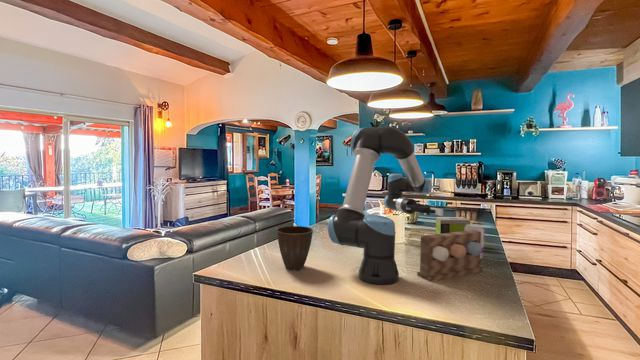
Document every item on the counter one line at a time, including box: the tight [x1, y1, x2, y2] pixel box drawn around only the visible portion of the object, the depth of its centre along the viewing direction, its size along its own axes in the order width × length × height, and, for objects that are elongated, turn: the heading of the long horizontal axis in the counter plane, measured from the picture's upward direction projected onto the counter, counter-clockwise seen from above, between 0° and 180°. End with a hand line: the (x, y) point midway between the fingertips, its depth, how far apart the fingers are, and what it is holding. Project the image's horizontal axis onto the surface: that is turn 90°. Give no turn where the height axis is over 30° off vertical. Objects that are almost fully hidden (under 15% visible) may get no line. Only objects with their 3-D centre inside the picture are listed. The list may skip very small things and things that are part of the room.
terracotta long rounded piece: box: [450, 243, 466, 258], centre depth 132 cm, size 5×9×5 cm, turn 25°
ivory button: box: [432, 246, 449, 261], centre depth 128 cm, size 5×9×5 cm, turn 25°
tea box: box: [435, 216, 471, 234], centre depth 176 cm, size 15×10×15 cm, turn 84°
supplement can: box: [464, 223, 485, 260], centre depth 155 cm, size 8×8×15 cm
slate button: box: [467, 241, 482, 256], centre depth 136 cm, size 5×9×5 cm, turn 25°
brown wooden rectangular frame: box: [416, 230, 484, 283], centre depth 133 cm, size 28×7×16 cm, turn 115°
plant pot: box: [276, 225, 314, 271], centre depth 138 cm, size 15×15×16 cm
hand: (441, 212), depth 149 cm, fingers closed
